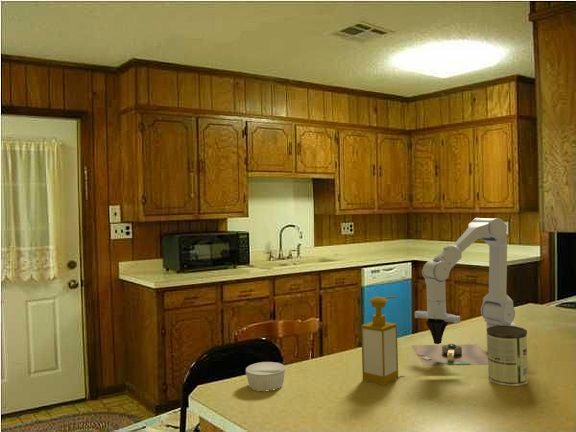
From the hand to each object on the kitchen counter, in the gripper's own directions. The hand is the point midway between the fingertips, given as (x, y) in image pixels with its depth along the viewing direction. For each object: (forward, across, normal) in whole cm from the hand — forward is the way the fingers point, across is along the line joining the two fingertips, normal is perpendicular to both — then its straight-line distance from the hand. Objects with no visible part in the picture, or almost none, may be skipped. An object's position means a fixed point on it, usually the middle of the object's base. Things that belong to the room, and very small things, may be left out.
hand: (437, 343), depth 167 cm
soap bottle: (+6, -5, -22) cm, 23 cm away
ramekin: (+6, -26, -49) cm, 56 cm away
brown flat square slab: (+6, +1, +7) cm, 9 cm away
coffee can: (+6, +23, -4) cm, 24 cm away
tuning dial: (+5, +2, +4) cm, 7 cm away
